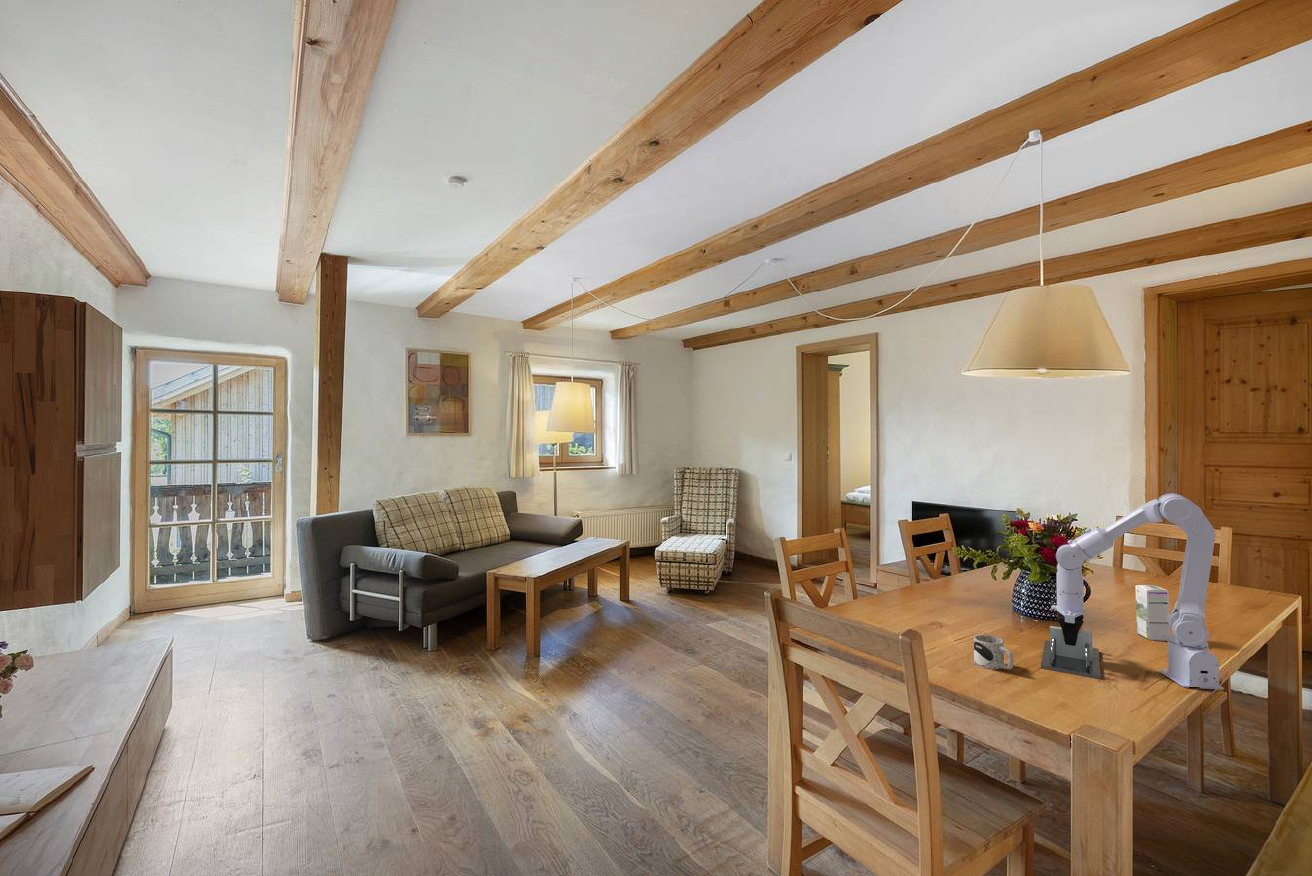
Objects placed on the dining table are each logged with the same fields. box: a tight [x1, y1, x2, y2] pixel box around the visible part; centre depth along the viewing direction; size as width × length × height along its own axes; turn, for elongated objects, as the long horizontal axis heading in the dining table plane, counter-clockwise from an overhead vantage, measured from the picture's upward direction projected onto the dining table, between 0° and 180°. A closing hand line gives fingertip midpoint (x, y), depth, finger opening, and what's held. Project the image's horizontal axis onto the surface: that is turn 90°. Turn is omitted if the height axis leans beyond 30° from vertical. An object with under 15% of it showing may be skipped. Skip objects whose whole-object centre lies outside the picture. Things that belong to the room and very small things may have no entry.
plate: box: [1049, 625, 1093, 661], centre depth 152 cm, size 2×9×7 cm, turn 54°
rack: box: [1040, 638, 1102, 680], centre depth 152 cm, size 22×12×5 cm, turn 144°
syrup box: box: [1135, 584, 1171, 642], centre depth 168 cm, size 6×6×14 cm
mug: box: [973, 634, 1015, 671], centre depth 148 cm, size 10×7×7 cm
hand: (1070, 643), depth 152 cm, fingers closed
